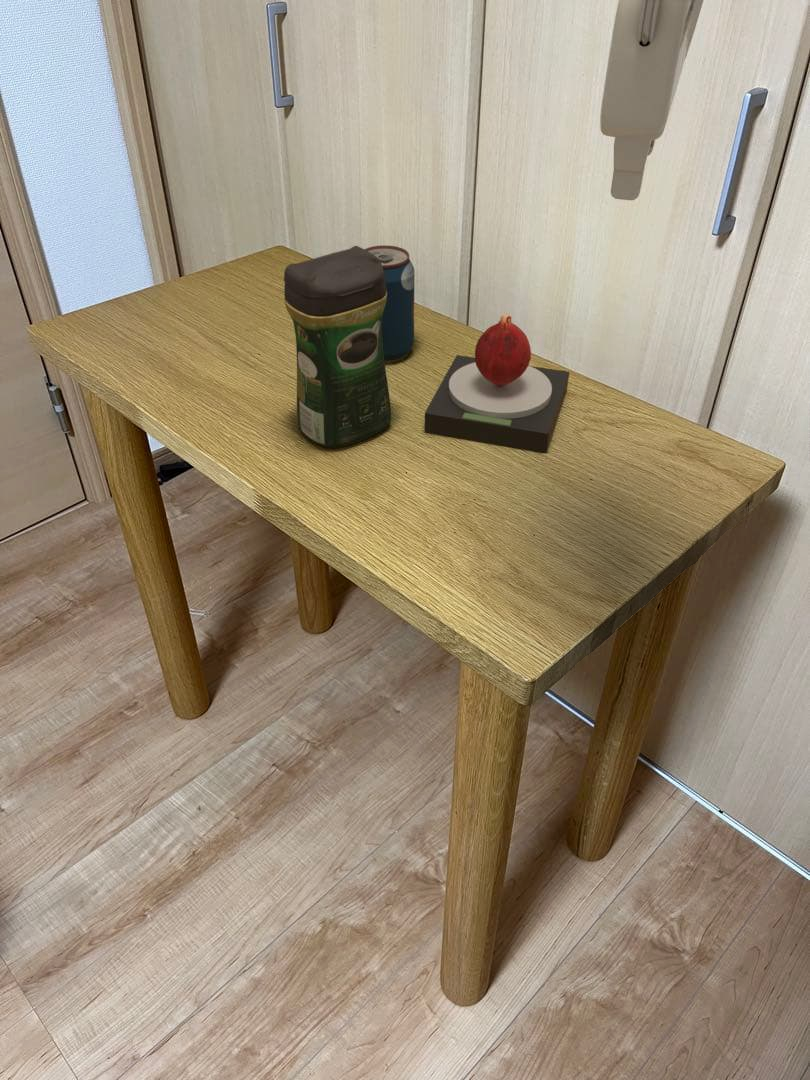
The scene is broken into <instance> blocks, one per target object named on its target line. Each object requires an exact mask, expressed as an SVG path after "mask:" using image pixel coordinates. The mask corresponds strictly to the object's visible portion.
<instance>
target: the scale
mask: <svg viewBox="0 0 810 1080" xmlns="http://www.w3.org/2000/svg"><path fill="white" fill-rule="evenodd" d="M569 377H570V371H566V370H561V369H553V368H547V367H540V366H534V365H528V367H527V369H526V370H525V372H524V373H523V374H522V375H521V376H520V377H519V378H517V379H516V380H514V381H513V382H511V383H509V384H506V385H504V386H497V385H495V384H493V383H491V382H490V381H488V380H487V379H485V378H484V377H483V375H482V374H481V373H480V372H479V370H478V368H477V366H476V361H475V356H474V357H473V356H466V355H461V354H456V356H455V357H454V359H453V361H452V363H451V364H450V366H449V368H448V370H447V372H446V373H445V375H444V378H443V379H442V381H441V383H440V384H439V386H438V388H437V390H436V391H435V394H434V396H433V397H432V399H431V401H430V403H429V405H428V407H427V408H426V410H425V412H424V433H426V434H427V433H428V434H431V435H432V434H433V435H439V436H443V437H450V438H456V439H463V440H467V441H474V442H479V443H486V444H492V445H497V446H501V447H502V446H503V447H509V448H515V449H520V450H526V451H532V452H537V453H542V454H547V453H548V449H549V446H550V444H551V441H552V438H553V434H554V431H555V428H556V425H557V422H558V419H559V417H560V413H561V410H562V408H563V407H562V406H563V403H564V400H565V399H566V398H565V397H566V395H567V391H568V386H569Z"/></svg>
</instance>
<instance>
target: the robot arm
mask: <svg viewBox="0 0 810 1080" xmlns="http://www.w3.org/2000/svg"><path fill="white" fill-rule="evenodd" d="M703 3H704V0H618V3H617V7H616V12H615V17H614V21H613V28H612V33H611V34H612V35H611V40H610V47H609V51H608V53H609V54H608V59H607V65H606V73H605V79H604V86H603V91H602V99H601V106H600V114H599V115H600V116H599V117H600V118H599V127H600V128H599V129H600V132H601V133H602V135H604V136H606V137H611V138H614V142H613V172H612V179H611V186H610V195H611V197H612V198H614V199H615V200H622V201H635V200H636V199H638V198H639V196H640V194H641V191H642V185H643V179H644V173H645V168H646V163H647V160H648V157H649V156H650V155H651V154H652V152H653V150H654V147H655V143H656V141H657V140H658V139H661V137H662V135H663V134H664V132H665V129H666V126H667V123H668V119H669V115H670V113H671V109H672V105H673V102H674V98H675V95H676V92H677V88H678V85H679V81H680V78H681V74H682V71H683V68H684V64H685V61H686V58H687V56H688V52H689V50H690V46H691V43H692V40H693V37H694V34H695V30H696V27H697V23H698V19H699V17H700V13H701V10H702V7H703Z"/></svg>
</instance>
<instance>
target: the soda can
mask: <svg viewBox="0 0 810 1080" xmlns="http://www.w3.org/2000/svg"><path fill="white" fill-rule="evenodd" d="M364 249H365V250H367V251H368V252H370V253H372V254H373V255H375V256H376V257H378V258H379V259H380V261H381V264H382V266H383V270H384V274H385V276H384V277H385V282H386V289H387V300H386V304H385V308H384V312H383V317H382V342H383V353H384V361H385V364H387V363H388V364H389V363H395V362H399V361H402V360H404V359H405V358H406V357H407V356H408V355H409V353H410V352H411V350H412V348H413V347H414V344H415V267H414V265H413V263H412V261H411V259H410V253H409V251H408V250H406V249H405V248H402V247H400V246H395V245H387V244H386V245H384V244H383V245H373V246H369V247H366V248H364Z"/></svg>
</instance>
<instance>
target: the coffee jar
mask: <svg viewBox="0 0 810 1080" xmlns="http://www.w3.org/2000/svg"><path fill="white" fill-rule="evenodd" d="M365 249H366V248H362V247H360V246H358V245H353V246H352V247H350V248H347V249H343V250H340V251H339V250H338V251H336V252H331V253H328V254H325V255H321V256H318V257H314V258H311V259H308V260H304V261H301V262H297V263H290V264H288V265H286V267H285V269H284V273H283V275H284V276H283V282H284V295H283V296H284V298H283V299H284V300H283V301H284V305H285V308H286V311H287V313H288V315H289V317H290V318H291V320H292V323H293V327H294V335H295V344H296V345H295V346H296V416H297V417H296V418H297V425H298V428H299V429H300V431H301V432H302V433H303V434H304V436H305V437H306V438H307V439H309V441H311V442H312V443H315V444H317V445H320V446H322V447H328V448H332V449H336V448H342V447H345V446H349V445H351V444H354V443H358V442H360V441H362V440H365V439H368V438H369V437H372V436H374V435H376V434H378V433H380V432H382V431H383V430H384V429H386V428H387V427H388V426H389V424H390V423H391V420H392V407H391V397H390V391H389V390H390V389H389V384H388V377H387V371H386V370H387V369H386V363H385V361H384V353H383V342H382V317H383V312H384V308H385V304H386V300H387V289H386V282H385V277H384V276H385V274H384V270H383V266H382V264H381V261H380V259H379V258H378V257H376V256H375V255H373V254H372V253H370V252H368V251H367V250H365Z"/></svg>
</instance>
